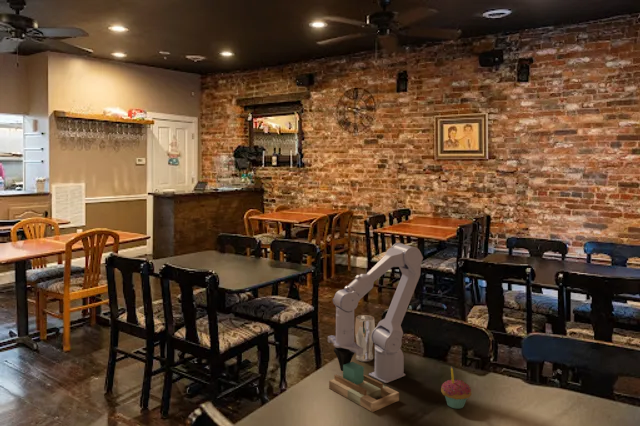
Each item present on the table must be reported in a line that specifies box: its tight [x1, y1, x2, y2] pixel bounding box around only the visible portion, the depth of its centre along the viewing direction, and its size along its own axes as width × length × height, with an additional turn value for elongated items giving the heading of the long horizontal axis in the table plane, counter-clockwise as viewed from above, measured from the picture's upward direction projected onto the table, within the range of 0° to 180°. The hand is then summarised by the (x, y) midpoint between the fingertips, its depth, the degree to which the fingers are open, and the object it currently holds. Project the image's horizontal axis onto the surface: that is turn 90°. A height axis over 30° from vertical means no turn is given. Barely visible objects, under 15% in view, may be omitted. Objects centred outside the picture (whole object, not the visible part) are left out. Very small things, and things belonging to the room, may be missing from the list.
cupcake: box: [440, 366, 472, 410], centre depth 148 cm, size 9×8×12 cm
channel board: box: [328, 374, 400, 413], centre depth 154 cm, size 11×19×4 cm, turn 39°
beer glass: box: [354, 314, 376, 363], centre depth 181 cm, size 7×7×15 cm
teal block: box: [342, 361, 365, 385], centre depth 158 cm, size 4×5×5 cm
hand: (344, 370), depth 161 cm, fingers closed
